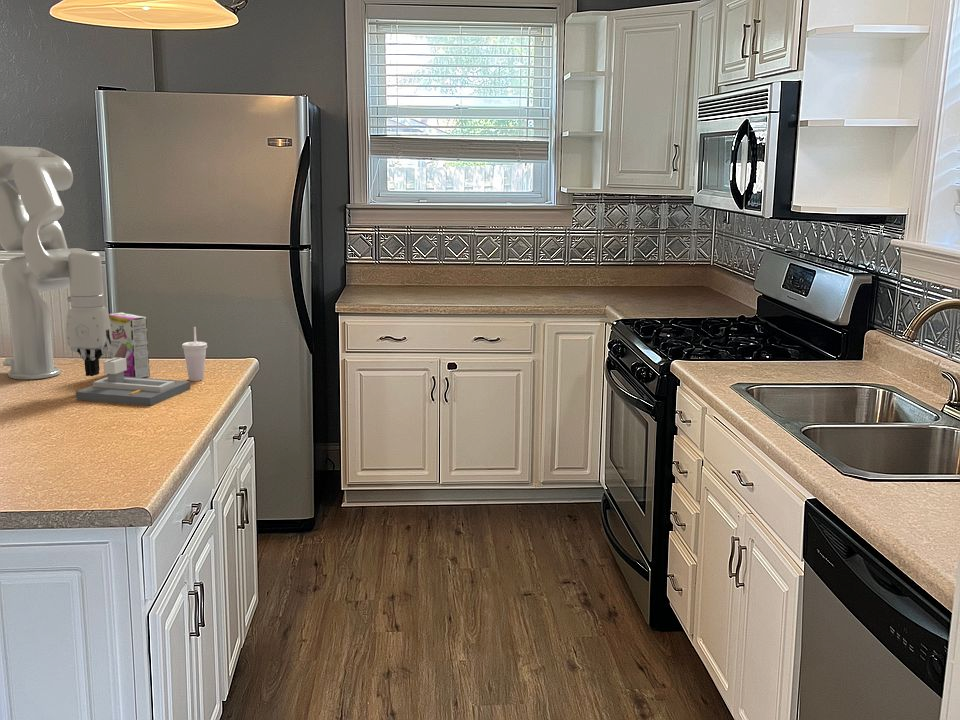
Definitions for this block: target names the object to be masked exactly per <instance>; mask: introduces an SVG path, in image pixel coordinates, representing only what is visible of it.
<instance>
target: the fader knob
mask: <svg viewBox="0 0 960 720" xmlns="http://www.w3.org/2000/svg"><path fill="white" fill-rule="evenodd" d="M125 370H127V364H126V358H121V357H119V358H112V359H110V358H109V359H106V360H103V374H104V375H105V374H107V377H108V382H116V383H124V371H125Z"/></svg>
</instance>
